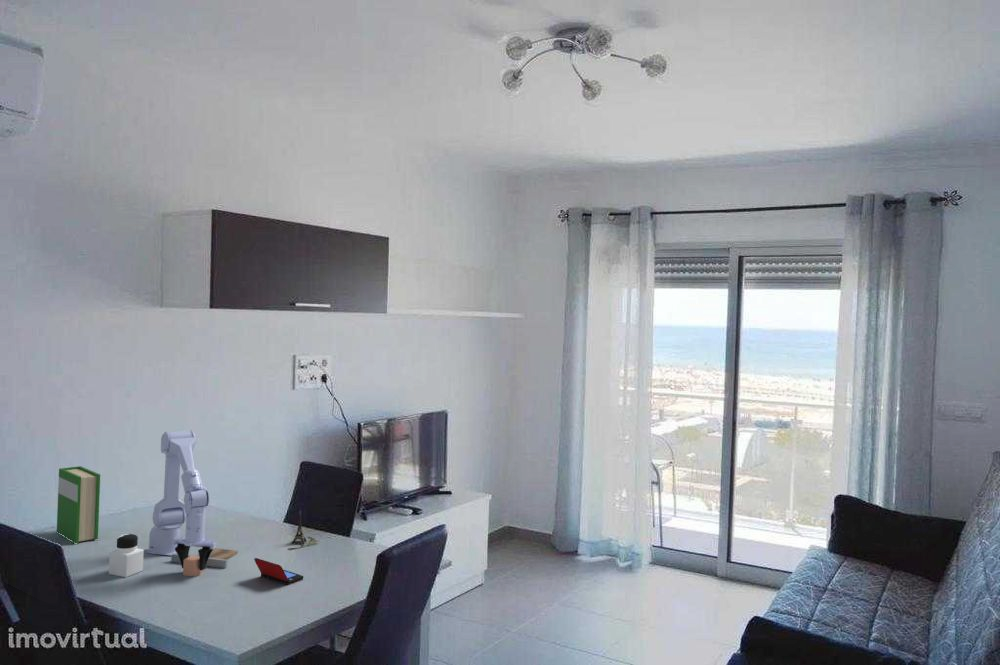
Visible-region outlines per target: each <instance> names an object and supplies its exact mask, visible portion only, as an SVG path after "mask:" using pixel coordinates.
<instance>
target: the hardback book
mask: <svg viewBox="0 0 1000 665" xmlns="http://www.w3.org/2000/svg"><path fill="white" fill-rule="evenodd" d="M57 487H58V489H57V514H56V517H57V518H56V533H57V532H58V533H60V534H62V535H64V536H65V537H67V538H68V539H70V540H72V541H73V542H75V543H78V542H83V541H84V542H85V541H90V540H93V539H98V540H99V523H100V522H99V521H100V520H99V518H100V515H99V514H100V493H101V492H100V491H101V474H100V473H98V472H95V471H93V470H91V469H88V468H86V467H83V466H82V465H79V466H78V465H77V466H71V467H62V468H61V467H60V468H58V486H57Z"/></svg>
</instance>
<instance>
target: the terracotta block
mask: <svg viewBox="0 0 1000 665" xmlns="http://www.w3.org/2000/svg"><path fill="white" fill-rule="evenodd" d="M203 573H205V569H204V570H202V571H201V570H200V557H199V556H197V555H191V556H190V557H188V558H186V559H184V563H183V568H182V576H189V577H198V576H199V575H201V574H203Z"/></svg>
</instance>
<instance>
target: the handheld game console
mask: <svg viewBox="0 0 1000 665" xmlns="http://www.w3.org/2000/svg"><path fill="white" fill-rule="evenodd" d="M253 560H254V562H255V564H256V566H257V568H258V570H259V573H260V577H261V578H263V579H266V580H270V581H274V582H277V583H279V584H282V585H285V586H289V585H292V584H294V583H297V582H300V581H302V580H304V575H301V574H298V573H295V572H292V571H289V570H286V569H284V568H283V567H282V565H280V564H277V563H274V562H270V561H268V560H264V559H261V558H257V557H255V558H254V559H253Z"/></svg>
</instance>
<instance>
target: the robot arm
mask: <svg viewBox="0 0 1000 665" xmlns="http://www.w3.org/2000/svg"><path fill="white" fill-rule="evenodd" d="M196 437H197V436H196V433H195V432H194V431H193V430H192V429H190V430H183V431H182V430H180V431H178V430H177V431H164V432H163V434H162V435H161V438H160V453H162V454H165V462H164V463H165V465H164V482H163V484H164V485H163V499H161V500H159V501H158V502H157V503H155V504H154V507H153V508H154V509H153V513H152V522H153V527H152V528H151V529H150V532H149V537H148V539H149V540H148V551H147V554H154V555H162V556H169V557H170V556H171V557H172V554H173V553H174V554H178V556H179V558H180V562H181V563H180V564H181V565H180V567H181V568H182V569H183V563H184V559H186V558H188V555H190V549H191V547H197V548H200V549H198V551H197V552H198V555H199V557H200V570H201V571H202V570H204V571H205V570H206V567H207V566H206V564H207V561H208V558H209V556H210V554H211V552H212V551H213V549H215V548H218V547H217V546H218V544H217V543H218V542H217V541H213V540H210V539H207V538H205V531H206V530H205V528H206V507H208V505H209V503H210V494H209V490H208V489H207V488H206V486H204V485H203V481H202V476H201V474H200V471H199V470H197V469H196V468H195V462H194V456H193V451H194V449H195V447H196V442H197V441H196V440H197V439H196ZM181 469H182V472H183V473H182V474H181ZM180 479H181V482H182V487H183V490H184V497H183V500H181V499H180V498H179V497H180V496H179V494H180ZM184 524H185V536H184V537H182V536H181V527H182V526H183V525H184Z"/></svg>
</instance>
